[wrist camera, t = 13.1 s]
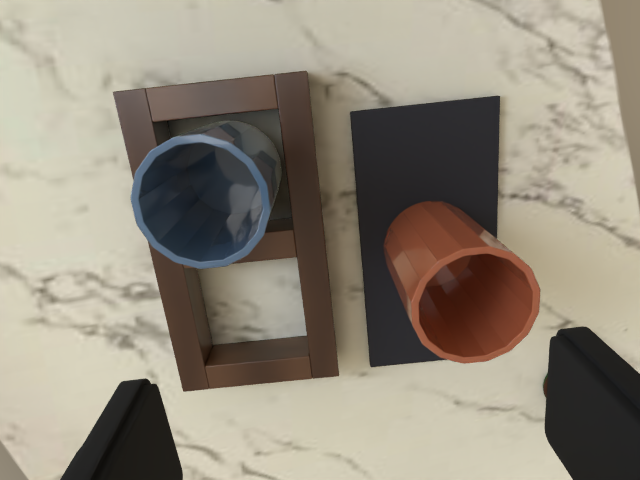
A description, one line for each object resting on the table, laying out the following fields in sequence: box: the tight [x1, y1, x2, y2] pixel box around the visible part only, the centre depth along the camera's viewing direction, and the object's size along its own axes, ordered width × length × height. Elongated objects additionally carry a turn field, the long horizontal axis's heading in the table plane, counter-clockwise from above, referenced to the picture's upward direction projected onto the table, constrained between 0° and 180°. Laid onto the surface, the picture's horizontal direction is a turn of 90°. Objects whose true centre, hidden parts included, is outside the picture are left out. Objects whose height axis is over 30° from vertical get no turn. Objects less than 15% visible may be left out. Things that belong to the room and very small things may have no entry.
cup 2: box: [384, 201, 540, 363], centre depth 29 cm, size 7×7×10 cm
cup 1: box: [131, 120, 282, 269], centre depth 28 cm, size 7×7×10 cm
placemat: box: [350, 96, 500, 367], centre depth 34 cm, size 20×10×1 cm, turn 6°
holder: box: [113, 71, 339, 391], centre depth 32 cm, size 12×22×3 cm, turn 6°
